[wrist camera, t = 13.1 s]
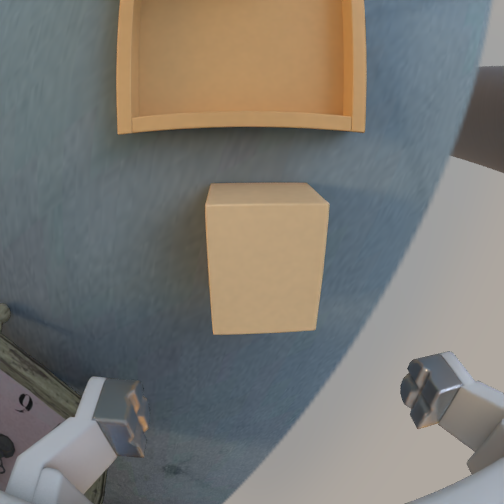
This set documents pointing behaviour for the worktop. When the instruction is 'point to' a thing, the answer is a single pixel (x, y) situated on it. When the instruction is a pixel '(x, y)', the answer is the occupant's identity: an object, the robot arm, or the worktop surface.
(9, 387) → the tabletop clock
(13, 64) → the worktop surface
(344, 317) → the worktop surface
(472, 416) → the robot arm
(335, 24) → the tray
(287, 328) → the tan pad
